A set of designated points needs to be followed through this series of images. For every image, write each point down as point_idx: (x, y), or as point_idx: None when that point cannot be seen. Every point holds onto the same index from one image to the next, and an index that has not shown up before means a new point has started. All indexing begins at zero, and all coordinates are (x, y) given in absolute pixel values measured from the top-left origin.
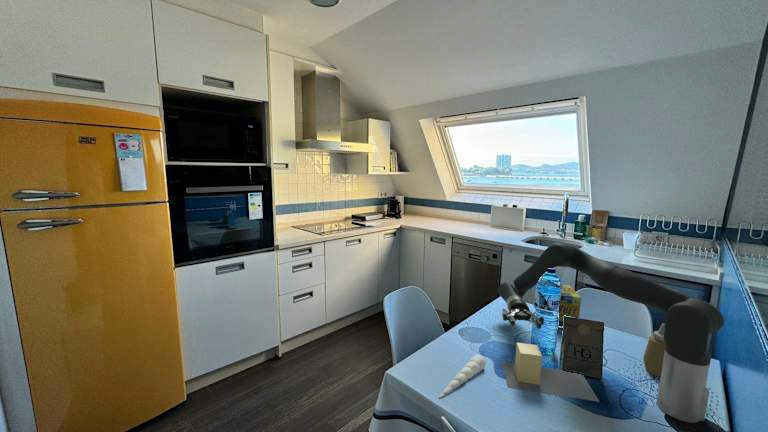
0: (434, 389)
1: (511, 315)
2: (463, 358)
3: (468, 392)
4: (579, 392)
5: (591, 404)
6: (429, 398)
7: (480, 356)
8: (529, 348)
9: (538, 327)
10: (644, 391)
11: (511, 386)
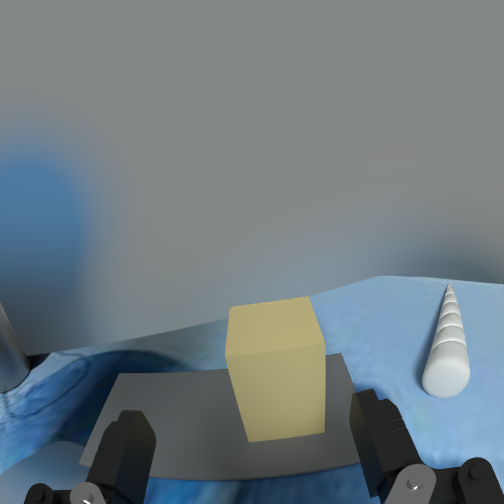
0: (469, 294)
1: (406, 483)
2: (497, 401)
3: (417, 313)
4: (145, 389)
5: (142, 369)
6: (460, 280)
7: (446, 356)
8: (268, 326)
9: (149, 429)
10: (3, 410)
11: (331, 358)
